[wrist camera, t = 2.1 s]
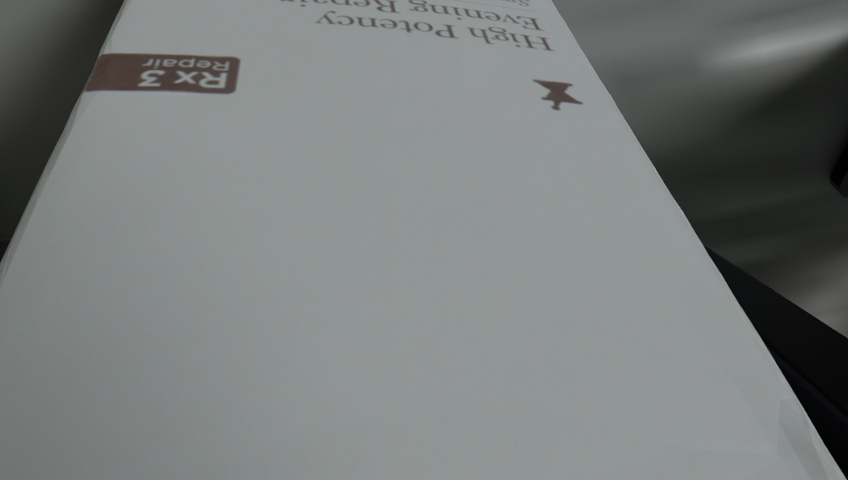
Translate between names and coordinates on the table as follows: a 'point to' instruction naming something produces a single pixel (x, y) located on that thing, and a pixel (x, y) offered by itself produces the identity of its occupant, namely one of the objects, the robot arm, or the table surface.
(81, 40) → the table surface
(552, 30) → the skincare box
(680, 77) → the table surface
